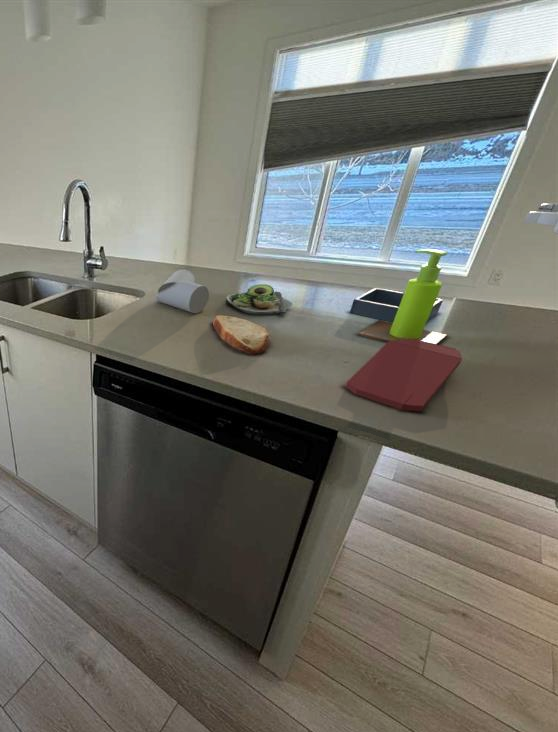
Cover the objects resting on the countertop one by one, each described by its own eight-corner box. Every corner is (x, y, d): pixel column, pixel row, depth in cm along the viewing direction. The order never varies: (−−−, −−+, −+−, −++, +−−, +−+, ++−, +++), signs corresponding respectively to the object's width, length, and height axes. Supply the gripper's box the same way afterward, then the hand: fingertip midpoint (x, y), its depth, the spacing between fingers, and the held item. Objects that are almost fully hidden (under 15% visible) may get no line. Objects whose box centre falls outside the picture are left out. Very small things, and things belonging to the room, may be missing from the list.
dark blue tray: (437, 313, 109) (443, 299, 107) (418, 327, 102) (424, 312, 100) (370, 300, 120) (375, 287, 118) (349, 312, 114) (353, 299, 112)
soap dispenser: (396, 326, 102) (427, 246, 92) (426, 336, 97) (462, 251, 87) (379, 331, 101) (408, 249, 91) (408, 341, 95) (443, 255, 85)
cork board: (446, 337, 97) (447, 334, 97) (427, 352, 91) (428, 350, 91) (378, 322, 107) (379, 319, 107) (358, 335, 102) (358, 332, 101)
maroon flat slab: (411, 429, 74) (462, 367, 84) (419, 409, 72) (471, 347, 81) (338, 403, 83) (392, 349, 93) (343, 384, 80) (398, 331, 90)
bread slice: (218, 319, 117) (220, 307, 116) (284, 333, 106) (288, 319, 104) (188, 340, 107) (189, 327, 105) (258, 358, 95) (261, 344, 94)
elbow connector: (138, 298, 135) (183, 314, 120) (144, 266, 131) (192, 278, 116) (174, 297, 144) (221, 312, 129) (181, 267, 140) (230, 279, 124)
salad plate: (310, 314, 115) (314, 299, 112) (249, 321, 114) (252, 305, 112) (272, 294, 132) (275, 280, 129) (219, 300, 131) (221, 286, 129)
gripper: (669, 188, 72) (553, 187, 82) (655, 206, 63) (527, 203, 73) (645, 225, 75) (537, 220, 85) (629, 247, 66) (510, 239, 76)
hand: (532, 212), depth 79 cm, fingers open, 8 cm apart
